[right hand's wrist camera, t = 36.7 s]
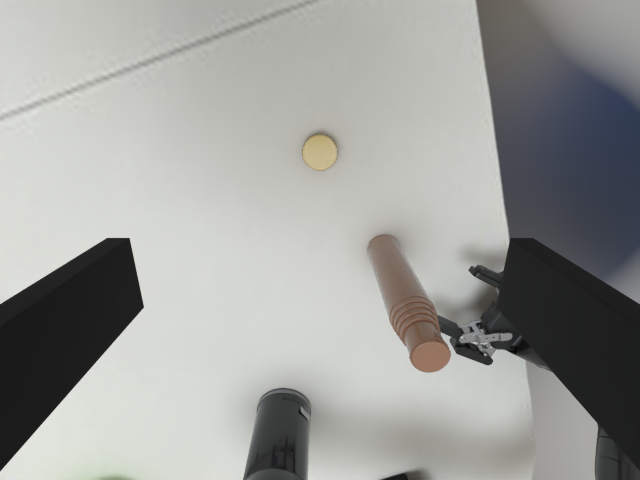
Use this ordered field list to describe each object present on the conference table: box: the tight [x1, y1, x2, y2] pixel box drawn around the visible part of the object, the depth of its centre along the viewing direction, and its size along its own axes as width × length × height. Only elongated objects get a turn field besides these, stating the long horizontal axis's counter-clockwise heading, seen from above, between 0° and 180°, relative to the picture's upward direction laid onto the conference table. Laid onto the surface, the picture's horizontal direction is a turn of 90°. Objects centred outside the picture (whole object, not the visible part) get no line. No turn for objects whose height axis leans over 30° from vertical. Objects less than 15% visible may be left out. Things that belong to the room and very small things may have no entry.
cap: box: [302, 134, 337, 171], centre depth 45 cm, size 4×4×2 cm
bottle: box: [367, 235, 451, 372], centre depth 40 cm, size 5×5×24 cm
